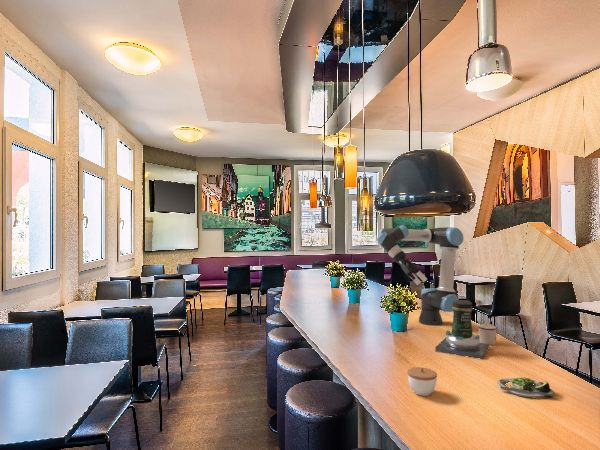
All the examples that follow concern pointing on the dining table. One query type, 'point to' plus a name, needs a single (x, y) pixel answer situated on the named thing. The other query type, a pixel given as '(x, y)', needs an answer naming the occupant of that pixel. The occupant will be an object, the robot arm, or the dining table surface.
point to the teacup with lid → (487, 333)
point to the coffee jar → (462, 318)
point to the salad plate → (527, 387)
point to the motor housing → (462, 346)
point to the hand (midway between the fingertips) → (422, 282)
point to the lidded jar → (422, 380)
